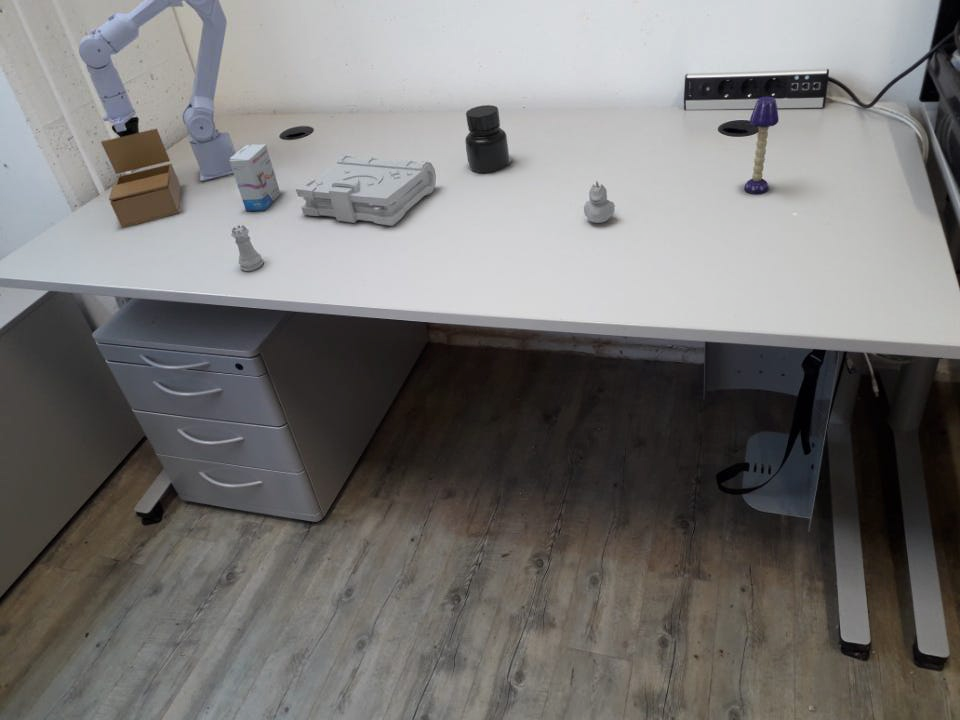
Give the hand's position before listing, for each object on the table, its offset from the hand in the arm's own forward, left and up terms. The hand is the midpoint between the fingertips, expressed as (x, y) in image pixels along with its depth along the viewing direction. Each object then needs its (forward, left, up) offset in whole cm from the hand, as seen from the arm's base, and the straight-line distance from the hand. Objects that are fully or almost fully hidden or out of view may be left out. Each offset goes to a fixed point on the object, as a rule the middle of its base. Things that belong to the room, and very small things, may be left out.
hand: (137, 152), depth 175 cm
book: (-45, +37, -10) cm, 59 cm away
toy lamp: (-113, +76, -10) cm, 137 cm away
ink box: (-25, +24, -10) cm, 36 cm away
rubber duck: (-84, +71, -10) cm, 111 cm away
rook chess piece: (-21, +53, -10) cm, 58 cm away
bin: (0, +10, -10) cm, 14 cm away
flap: (0, +2, +1) cm, 2 cm away
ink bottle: (-74, +35, -10) cm, 83 cm away
